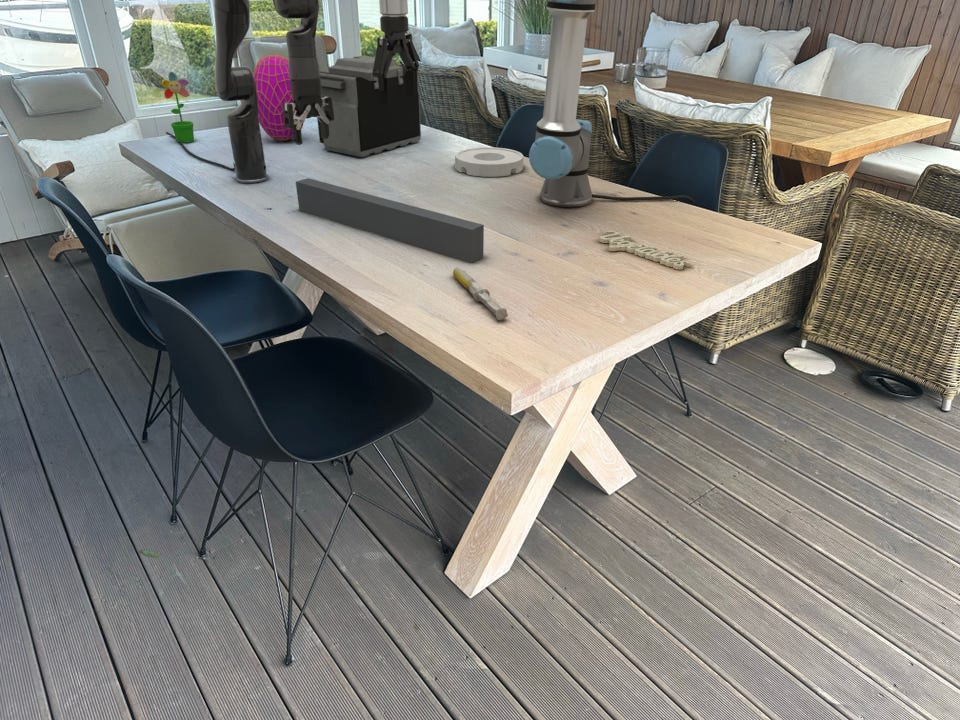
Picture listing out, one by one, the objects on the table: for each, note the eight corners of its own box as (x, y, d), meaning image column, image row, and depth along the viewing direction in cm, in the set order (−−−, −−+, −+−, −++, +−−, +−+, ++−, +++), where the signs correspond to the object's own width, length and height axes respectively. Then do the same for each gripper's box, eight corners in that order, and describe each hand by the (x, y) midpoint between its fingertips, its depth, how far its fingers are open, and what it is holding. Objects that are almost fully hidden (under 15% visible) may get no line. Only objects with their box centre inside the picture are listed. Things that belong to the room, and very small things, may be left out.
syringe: (449, 274, 155) (449, 263, 153) (465, 272, 156) (464, 260, 154) (490, 323, 135) (491, 310, 133) (508, 319, 136) (508, 307, 134)
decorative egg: (293, 132, 276) (283, 50, 261) (319, 140, 264) (310, 56, 249) (249, 139, 265) (236, 54, 250) (273, 148, 253) (261, 60, 238)
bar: (483, 257, 164) (483, 224, 160) (471, 263, 161) (472, 229, 157) (311, 206, 196) (308, 178, 192) (299, 210, 193) (295, 181, 188)
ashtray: (457, 158, 244) (457, 146, 242) (522, 159, 243) (522, 147, 241) (452, 176, 224) (452, 163, 222) (523, 177, 223) (524, 165, 221)
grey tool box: (383, 133, 276) (378, 52, 261) (425, 141, 265) (422, 56, 250) (314, 150, 251) (304, 61, 235) (358, 160, 240) (350, 67, 224)
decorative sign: (585, 238, 173) (610, 229, 179) (584, 241, 173) (610, 233, 179) (673, 269, 156) (698, 259, 162) (672, 273, 156) (697, 262, 162)
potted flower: (174, 144, 256) (159, 72, 244) (172, 140, 262) (157, 69, 250) (201, 142, 260) (187, 71, 247) (197, 137, 266) (184, 68, 253)
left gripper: (317, 71, 180) (324, 134, 188) (272, 77, 170) (281, 143, 179) (336, 74, 176) (342, 139, 184) (290, 80, 166) (298, 148, 174)
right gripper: (406, 12, 195) (410, 91, 206) (354, 17, 176) (361, 104, 186) (429, 13, 192) (431, 93, 203) (379, 19, 173) (384, 107, 184)
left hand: (312, 141), depth 181 cm, fingers open, 8 cm apart
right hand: (398, 99), depth 195 cm, fingers open, 13 cm apart
